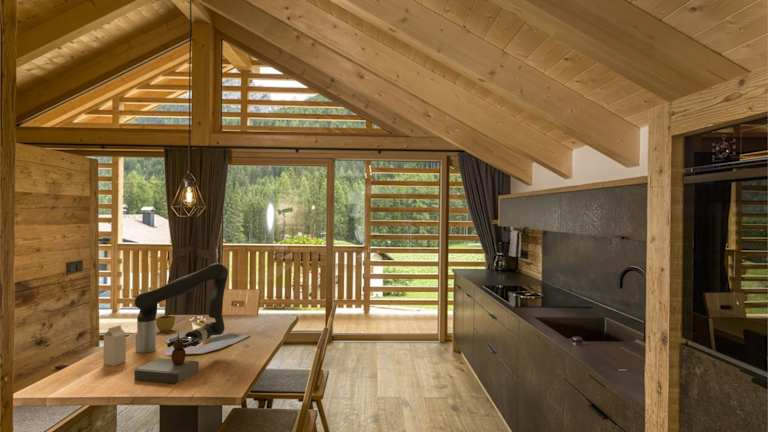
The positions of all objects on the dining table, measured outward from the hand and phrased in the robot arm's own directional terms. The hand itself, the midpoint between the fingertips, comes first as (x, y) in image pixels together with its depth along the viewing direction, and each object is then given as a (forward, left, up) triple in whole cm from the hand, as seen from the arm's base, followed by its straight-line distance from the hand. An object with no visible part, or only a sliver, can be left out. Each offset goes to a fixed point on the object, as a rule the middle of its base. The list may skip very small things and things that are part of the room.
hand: (175, 345), depth 221 cm
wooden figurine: (0, +2, -10) cm, 10 cm away
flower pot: (-59, +71, -15) cm, 93 cm away
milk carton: (-42, +9, -15) cm, 45 cm away
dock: (-4, 0, -14) cm, 15 cm away
